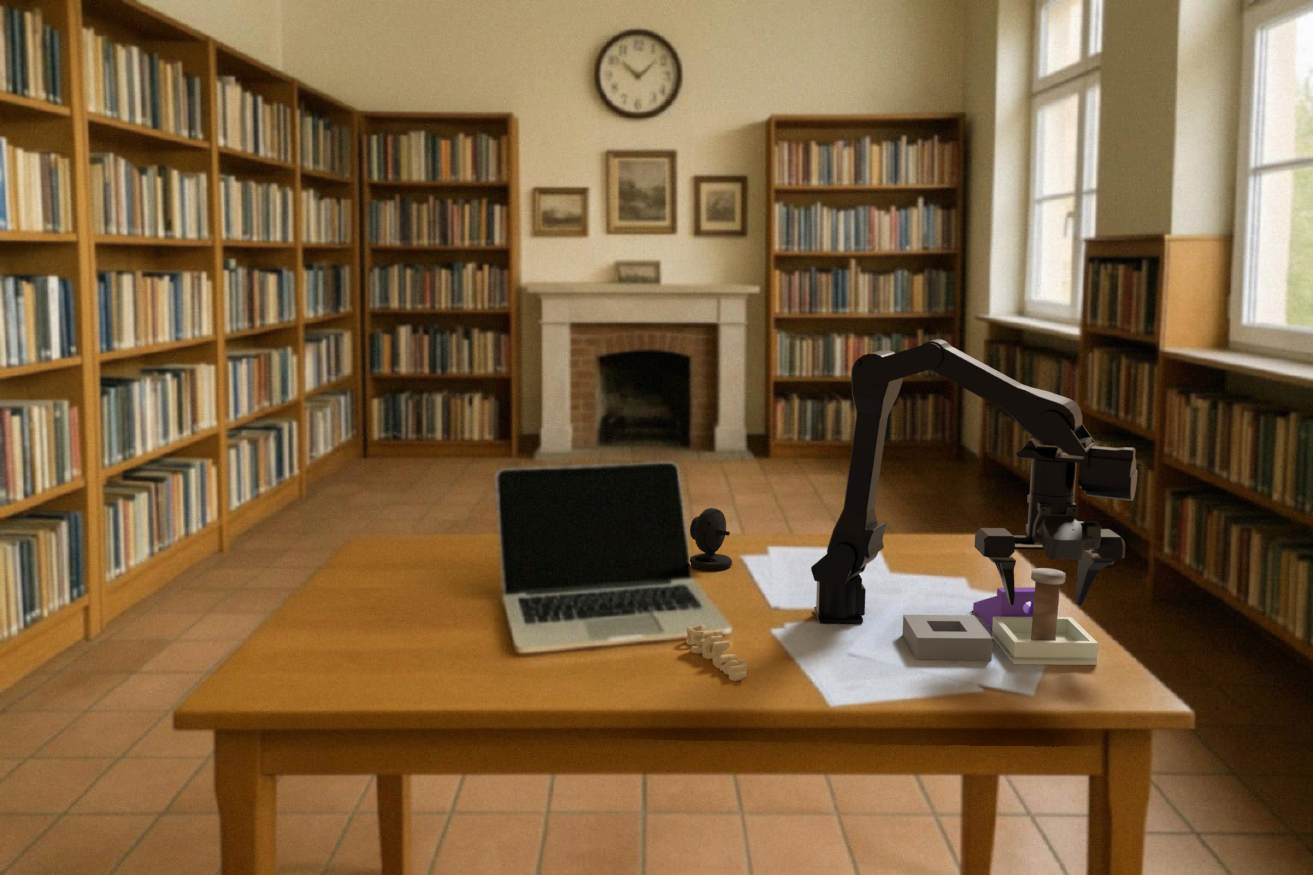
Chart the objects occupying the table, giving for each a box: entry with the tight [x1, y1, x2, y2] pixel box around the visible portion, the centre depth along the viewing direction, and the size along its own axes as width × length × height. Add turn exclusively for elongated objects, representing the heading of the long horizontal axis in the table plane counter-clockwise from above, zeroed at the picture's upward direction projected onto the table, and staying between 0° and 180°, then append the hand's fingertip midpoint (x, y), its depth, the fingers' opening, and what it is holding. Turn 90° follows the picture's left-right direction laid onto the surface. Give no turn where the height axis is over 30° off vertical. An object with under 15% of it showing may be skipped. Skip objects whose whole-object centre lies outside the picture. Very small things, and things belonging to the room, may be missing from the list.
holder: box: [902, 614, 994, 661], centre depth 169 cm, size 10×10×3 cm
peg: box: [1030, 567, 1066, 641], centre depth 167 cm, size 4×4×10 cm
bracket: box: [972, 586, 1035, 629], centre depth 179 cm, size 12×7×7 cm, turn 4°
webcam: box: [689, 507, 733, 572], centre depth 209 cm, size 8×8×10 cm
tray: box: [991, 616, 1099, 666], centre depth 167 cm, size 11×11×3 cm
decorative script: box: [686, 624, 748, 682], centre depth 163 cm, size 17×4×3 cm, turn 24°
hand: (1045, 604), depth 167 cm, fingers open, 9 cm apart
